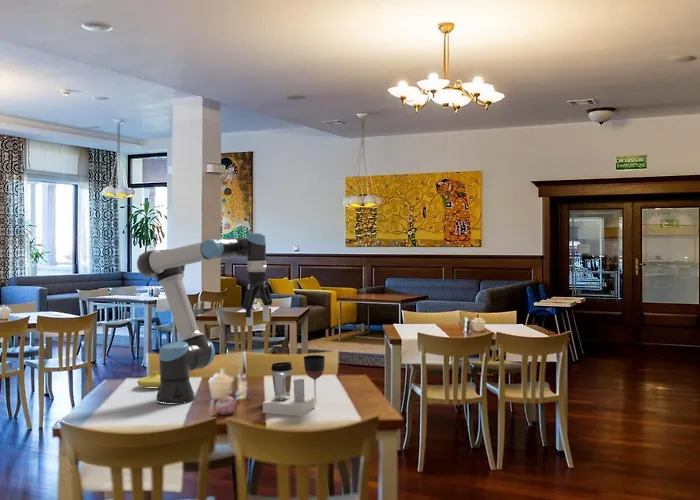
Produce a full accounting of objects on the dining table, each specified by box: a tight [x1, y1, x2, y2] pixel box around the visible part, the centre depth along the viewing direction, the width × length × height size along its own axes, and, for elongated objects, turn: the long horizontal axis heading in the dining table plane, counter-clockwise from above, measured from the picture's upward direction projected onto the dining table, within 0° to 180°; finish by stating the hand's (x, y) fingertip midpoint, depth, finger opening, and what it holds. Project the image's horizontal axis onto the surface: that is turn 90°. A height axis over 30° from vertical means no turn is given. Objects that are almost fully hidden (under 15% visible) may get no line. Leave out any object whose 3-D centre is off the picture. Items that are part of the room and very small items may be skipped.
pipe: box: [274, 373, 286, 402], centre depth 270 cm, size 4×4×14 cm
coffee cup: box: [270, 361, 293, 396], centre depth 286 cm, size 8×8×15 cm
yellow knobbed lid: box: [136, 370, 160, 388], centre depth 317 cm, size 16×16×7 cm
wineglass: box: [303, 354, 326, 407], centre depth 272 cm, size 8×9×20 cm
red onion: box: [215, 394, 238, 416], centre depth 266 cm, size 8×8×7 cm
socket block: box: [262, 378, 315, 417], centre depth 268 cm, size 16×12×12 cm
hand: (258, 323), depth 285 cm, fingers open, 13 cm apart
